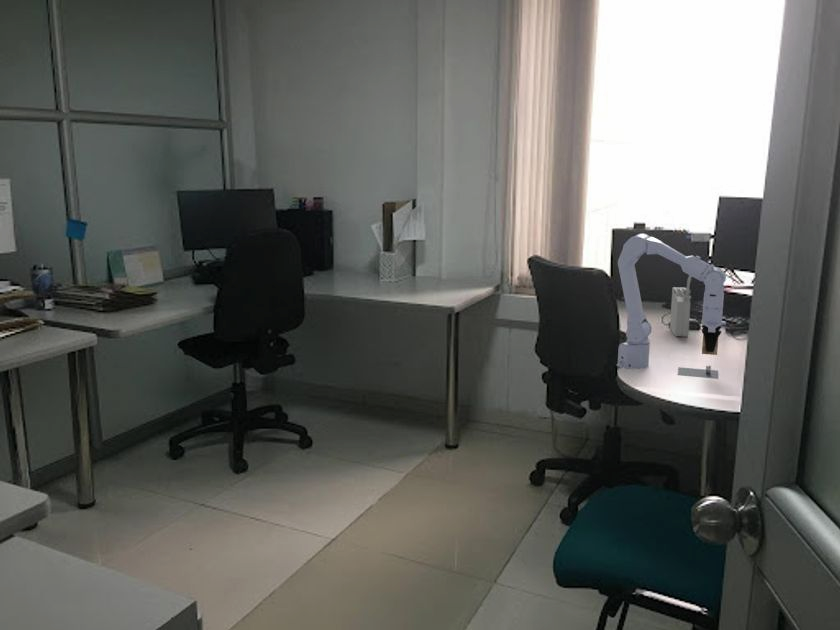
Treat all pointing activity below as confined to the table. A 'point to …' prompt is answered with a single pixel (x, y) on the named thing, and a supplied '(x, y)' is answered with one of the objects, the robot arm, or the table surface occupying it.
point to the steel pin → (708, 369)
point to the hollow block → (705, 348)
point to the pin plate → (697, 372)
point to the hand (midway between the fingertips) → (709, 349)
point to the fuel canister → (680, 310)
